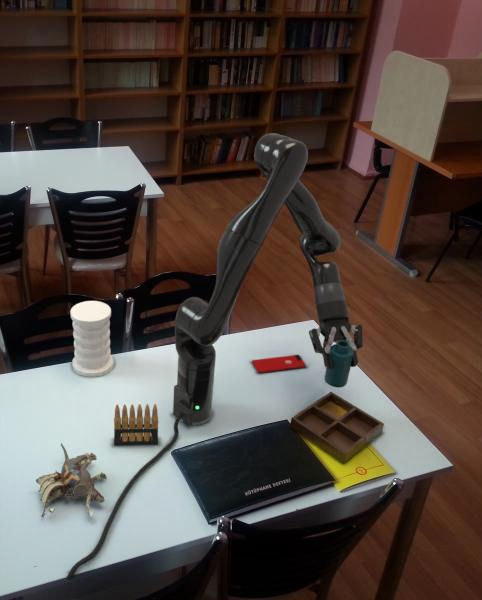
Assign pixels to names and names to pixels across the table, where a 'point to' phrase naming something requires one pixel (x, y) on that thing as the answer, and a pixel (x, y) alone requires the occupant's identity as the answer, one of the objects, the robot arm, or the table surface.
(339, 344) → the bottle
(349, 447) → the compartment tray
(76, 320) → the decorative container
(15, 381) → the table surface
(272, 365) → the electronic device
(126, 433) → the ammunition clip
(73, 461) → the figurine
